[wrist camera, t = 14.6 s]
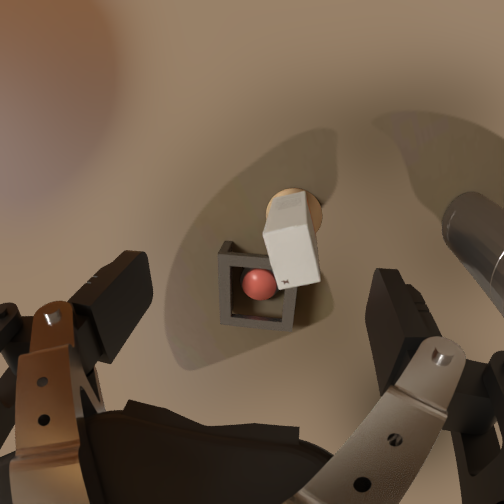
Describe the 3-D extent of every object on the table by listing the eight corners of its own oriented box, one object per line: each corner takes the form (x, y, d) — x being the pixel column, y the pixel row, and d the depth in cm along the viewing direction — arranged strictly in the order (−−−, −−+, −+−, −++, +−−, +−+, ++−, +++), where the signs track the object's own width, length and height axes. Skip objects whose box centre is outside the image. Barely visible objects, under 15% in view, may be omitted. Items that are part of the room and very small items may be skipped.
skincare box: (317, 234, 39) (322, 284, 29) (284, 241, 40) (277, 292, 30) (306, 188, 37) (308, 223, 26) (271, 196, 38) (260, 233, 27)
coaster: (324, 190, 37) (324, 191, 37) (319, 242, 40) (319, 244, 40) (267, 186, 38) (267, 187, 38) (265, 238, 41) (264, 240, 41)
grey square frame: (300, 246, 41) (299, 260, 37) (292, 314, 46) (291, 331, 42) (224, 240, 42) (217, 253, 39) (226, 307, 47) (220, 324, 43)
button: (282, 264, 42) (281, 269, 41) (279, 299, 45) (278, 304, 43) (240, 261, 43) (238, 266, 42) (240, 295, 45) (238, 301, 44)
